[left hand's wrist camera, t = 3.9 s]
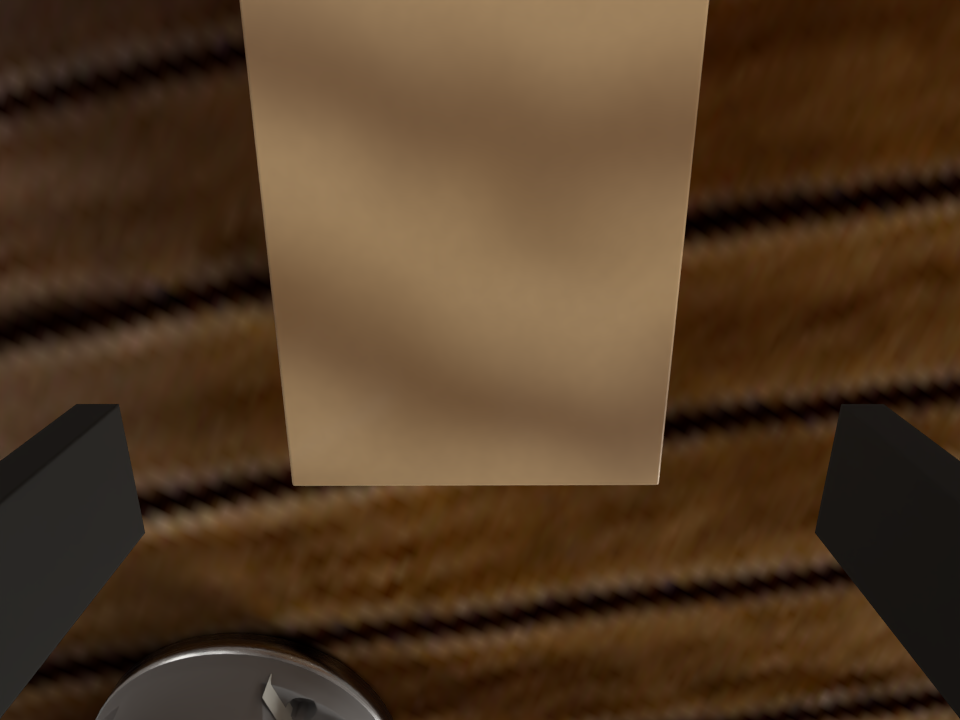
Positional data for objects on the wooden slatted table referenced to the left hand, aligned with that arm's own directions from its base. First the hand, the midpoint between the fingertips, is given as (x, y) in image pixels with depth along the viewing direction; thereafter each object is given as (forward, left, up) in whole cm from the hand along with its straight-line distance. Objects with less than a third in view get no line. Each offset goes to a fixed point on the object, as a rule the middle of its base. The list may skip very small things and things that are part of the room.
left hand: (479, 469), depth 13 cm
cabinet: (+1, +6, -15) cm, 16 cm away
